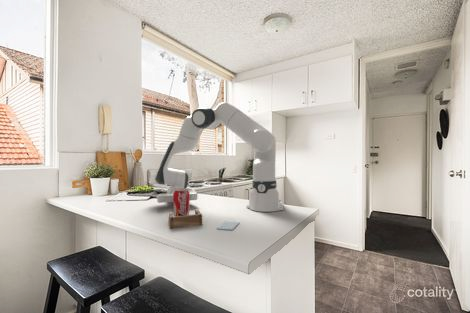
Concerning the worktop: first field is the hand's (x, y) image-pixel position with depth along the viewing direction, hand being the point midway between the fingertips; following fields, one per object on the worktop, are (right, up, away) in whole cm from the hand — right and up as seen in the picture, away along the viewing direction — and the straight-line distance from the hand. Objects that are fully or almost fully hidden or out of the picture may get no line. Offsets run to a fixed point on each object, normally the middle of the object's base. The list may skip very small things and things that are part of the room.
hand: (179, 199), depth 110 cm
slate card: (+25, -6, -25) cm, 36 cm away
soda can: (+4, -6, -10) cm, 12 cm away
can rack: (+7, -5, -20) cm, 22 cm away
